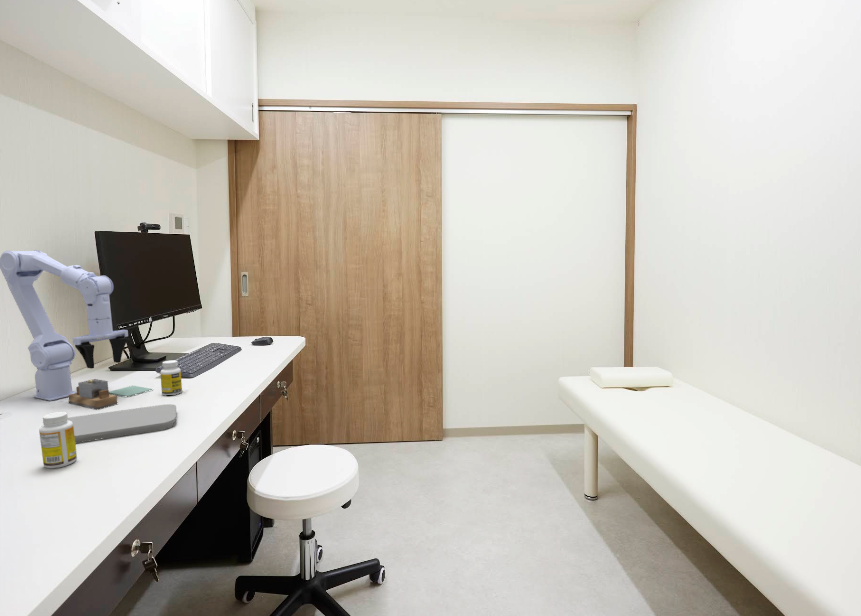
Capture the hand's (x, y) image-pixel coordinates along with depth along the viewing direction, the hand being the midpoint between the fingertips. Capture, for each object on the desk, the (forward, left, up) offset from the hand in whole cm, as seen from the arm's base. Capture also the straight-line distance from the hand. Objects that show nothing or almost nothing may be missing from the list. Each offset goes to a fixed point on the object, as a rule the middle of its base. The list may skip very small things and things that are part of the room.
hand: (104, 365), depth 148 cm
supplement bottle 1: (+38, -32, -10) cm, 51 cm away
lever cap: (+2, -5, -8) cm, 9 cm away
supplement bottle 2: (+13, +11, -10) cm, 20 cm away
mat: (-1, +7, -10) cm, 12 cm away
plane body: (+1, -5, -10) cm, 11 cm away
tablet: (+27, -14, -11) cm, 32 cm away
